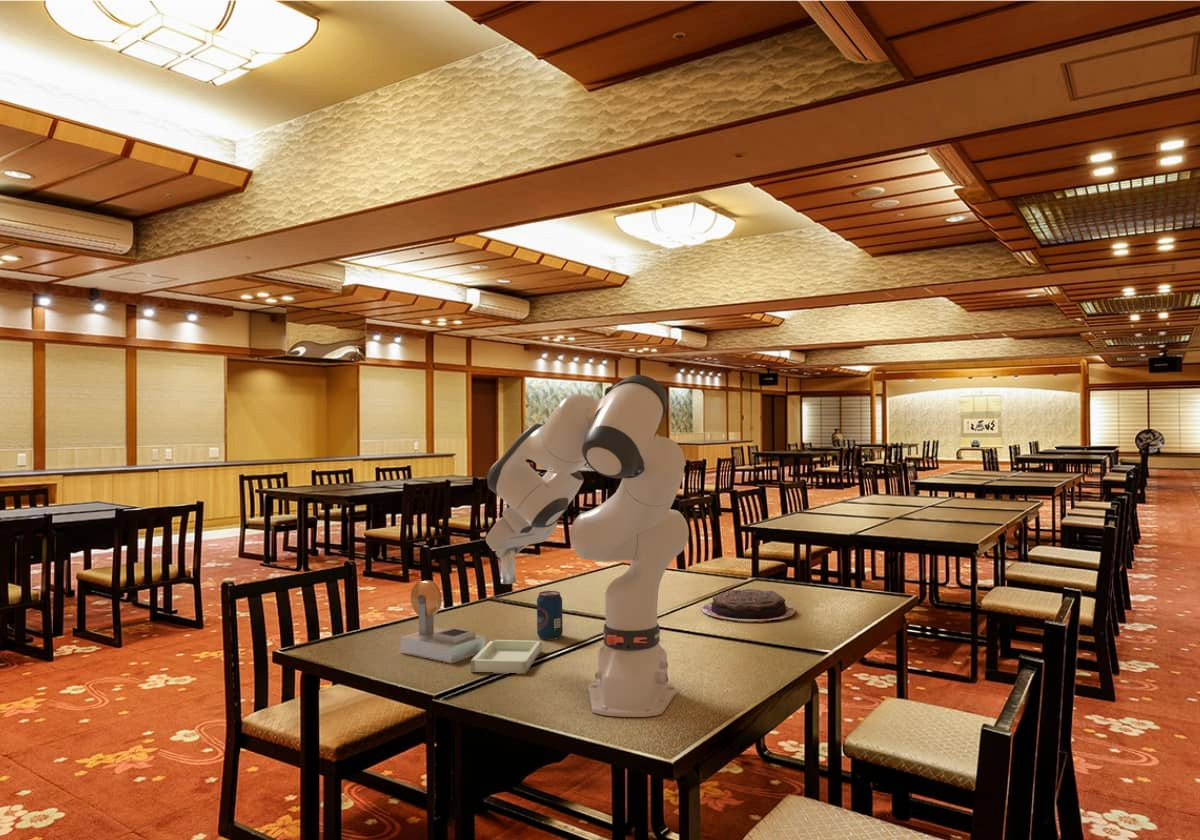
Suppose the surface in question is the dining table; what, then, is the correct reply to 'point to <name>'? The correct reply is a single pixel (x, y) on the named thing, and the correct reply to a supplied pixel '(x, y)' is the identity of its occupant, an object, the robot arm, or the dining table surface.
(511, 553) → the dome-capped glass cylinder
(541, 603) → the soda can
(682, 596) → the dining table surface
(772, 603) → the chocolate cake
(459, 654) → the block
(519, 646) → the tray
